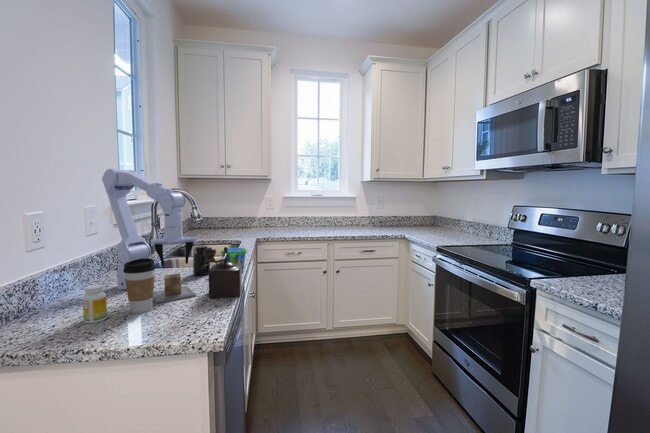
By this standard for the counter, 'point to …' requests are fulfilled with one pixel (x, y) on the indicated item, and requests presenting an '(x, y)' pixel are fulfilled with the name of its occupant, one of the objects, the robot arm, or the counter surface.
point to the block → (172, 284)
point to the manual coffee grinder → (223, 276)
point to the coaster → (185, 293)
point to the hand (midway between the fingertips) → (174, 264)
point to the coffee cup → (140, 284)
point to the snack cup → (236, 256)
